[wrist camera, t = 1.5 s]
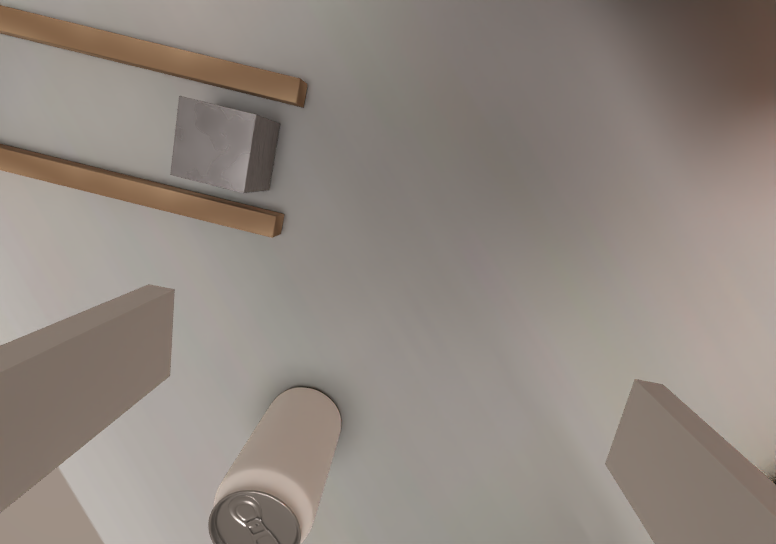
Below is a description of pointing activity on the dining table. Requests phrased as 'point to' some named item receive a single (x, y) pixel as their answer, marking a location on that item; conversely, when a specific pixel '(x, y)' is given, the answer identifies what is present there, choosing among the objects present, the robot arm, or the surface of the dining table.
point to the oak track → (163, 62)
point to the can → (278, 473)
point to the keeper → (223, 146)
